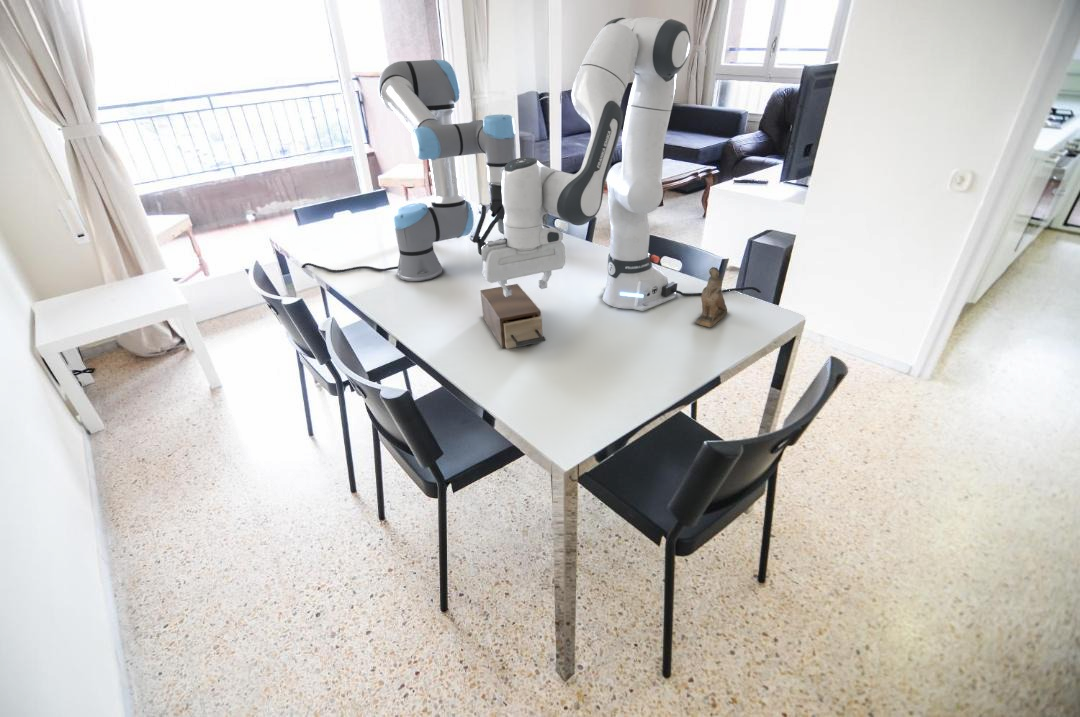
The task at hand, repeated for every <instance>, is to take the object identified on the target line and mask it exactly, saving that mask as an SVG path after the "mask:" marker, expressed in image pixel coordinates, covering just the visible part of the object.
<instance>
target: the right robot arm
mask: <svg viewBox="0 0 1080 717" xmlns="http://www.w3.org/2000/svg"><path fill="white" fill-rule="evenodd" d="M691 41H692V40H691V34H690V32H689V29H688V27H687V24H685V23H683V22H681V21H679V20H676V19H672V18H669V19H665V18H661V17H653V16H643V17H630V18H626V17H617V18H615V19H611V20H609V21H608V22H606V23H605V24H604V26H603V27H602V28H601V29H600V31H599V32H598V34H597V35H596V37H595V38H594V40H593V41H592V43H591V45H590V47H589V48H588V49H587V52H586V54H585V56H584V57H583V60H582V61H581V62H582V63H581V65H580V66H579V68H578V71H577V73H576V76H575V79H574V80H573V83H572V87H571V94H570V98H571V102H572V105H573V108H574V110H575V112H576V113H577V115H578V116H579V117H580V118H581V119H582V120H584V121H585V122H586V123H587V124H588V125H589V126H590V137H589V140H588V144H587V147H586V151H585V154H584V157H583V160H582V164H581V167H580V169H579V170H578V171H577V172H576V173H570V172H564V171H562V170H558V169H555V168H551V167H550V166H549V167H548V166H547V165H545V164H543V163H541V162H540V161H539V160H538V159H537V158H536V157H532V156H525V157H517V158H516V159H514V160H512V161H510V162H509V163H507V164H506V165H505V167H504V170H503V175H502V204H503V207H504V211H505V216H504V221H503V223H504V235H503V238H500V239H496V240H488V241H486V242H485V243H486V244H485V245H484V246H483V247H482V249H481V254H482V255H481V260H482V259H483V261H482V266H481V268H482V277H483V278H484V280H486V281H487V282H489V283H491V284H493V283H498V284H499V285H500V287H502V288H503V294H504V296H505V297H508V296H512V293H511V292H512V289H511V288H509V287H506V286H507V284H508V280H512V279H517V278H522V277H527V276H531V275H532V276H533V275H538V274H541V273H542V274H543V275H542V278H541V279H539V280H538V288H539V289H541V290H545V289H547V288H548V282H549V280H550V278H551V276H552V271H556V270H561V269H563V268H564V266H565V265H566V247H565V244H564V242H563V241H562V240H563V239H564V234H563V232H562V231H561V230H560V229H558V228H556V227H554V226H552V225H549V224H547V225H544V224H543V219H542V217H543V215H545V214H547V215H550V216H552V217H556V218H559V219H562V220H563V221H565V222H567V223H570V224H571V225H573V226H583V225H586V224H587V223H590V222H591V221H592V220H593V219H594V218H595V217H596V216H597V215H598V213H599V211H600V209H601V206H602V203H603V197H604V191H605V190H604V189H605V183H606V186H607V200H608V213H609V223H610V224H609V225H610V236H609V237H610V240H609V253H608V254H607V255H608V257H607V280H606V285H605V289H604V291H603V292H604V293H603V294H602V301H603V302H604V303H605V304H606V305H608V306H611V307H613V308H619V309H624V310H625V309H626V310H636V311H641V312H644V311H647V310H650V309H652V308H654V307H656V306H659V305H661V304H663V303H666V302H668V301H671V300H673V299H675V298H676V294H679V295H680V296H684V297H699V296H702V292H697V293H696V292H695V293H693V292H690V293H689V292H682V291H680V290H678V282H675V281H670V282H669V279H668V277H667V275H665V273H663V271H661V270H660V269H658V268H657V267H655V266H654V265H653V263H654V264H658V263H659V262H660V260H661V259H660V256H658V255H655V254H651V253H649V248H650V236H651V227H650V226H651V225H650V223H649V217H648V216H649V214H650V213H652V212H654V211H655V210H657V208H658V207H659V206H660V205H661V203H662V200H663V197H664V189H663V183H662V182H663V163H664V161H663V160H664V147H665V141H666V136H667V132H668V126H669V122H670V119H671V118H670V117H671V114H672V110H673V105H674V98H675V90H676V83H677V82H676V80H677V74H678V73H679V72H680V71H681V70H682V68H683V67H684V65H685V64H686V62H687V61H688V58H689V55H690V50H691ZM632 74H633V75H634V79H633V81H632V85H631V89H630V93H629V97H628V102H627V107H626V111H625V117H624V115H623V114H624V113H623V110H622V108H621V105H622V100H623V97H624V95H625V92H626V90H627V87H628V85H629V82H630V79H631V77H632ZM623 120H624V122H623ZM622 126H623V127H622ZM622 128H623V129H622ZM621 131H622V134H621ZM620 135H621V145H622V147H621V148H622V151H621V152H622V154H621V161H619V162H616V163H615V164H614V165H612V161H613V157H614V156H615V152H616V149H617V144H618V142H619V138H620ZM611 165H612V166H611ZM485 246H486V247H485ZM652 262H653V263H652ZM726 289H727V290H726ZM726 289H722V293H723V294H725V293H729V292H738V291H739V292H740V291H747V290H752V291H755V292H757V293H759V294H761V293H762V291H761V290H760V289H759V288H757V287H756V286H744V287H733V288H732V287H731V288H726ZM729 290H730V291H729Z"/></svg>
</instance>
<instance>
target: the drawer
mask: <svg viewBox="0 0 1080 717" xmlns="http://www.w3.org/2000/svg"><path fill="white" fill-rule="evenodd" d="M542 319H543V318H542V316H541V317H540V316H539V317H535V315H532V316H527V317H522V318H517V319H512V320H507V321H503V323H504V336H505V347H506V348H505V349H506V350H508V349H513V348H519V347H523V346H527V345H528V346H529V345H532V344H537V343H542V342H545V341H546V337H545V335H543V320H542Z"/></svg>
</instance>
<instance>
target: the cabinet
mask: <svg viewBox="0 0 1080 717" xmlns="http://www.w3.org/2000/svg"><path fill="white" fill-rule="evenodd" d="M505 286H506V287H509V288H511V289H512V292H511V293H512V296H508V297H505V296H504V294H503V288H502V287H501V286H497V287H491V288H485V289H481V290H479V291H480V300H481V309H482V318H483V321H485V323H486V325H487V327H488V328H489V330H490V331H491V333H492V334H493V336H494V337H495V340H496V341H497V342H498V344H499V346H500V347H501V349H507V348H506V347H505V336H504V323H503V321H507V320H512V319H517V318H522V317H527V316H532V315H535V317H539V316H540V317H541V318H542V311H541V309H540V308H539V307H538V306H537V305H536V303H534V301H533V300H532V299H531V298H530V297H529V295H528V294H527V293H526V292H525V291H524V289H523V288H522V287H521V286H520V285H519V283H514V284H508V285H505Z"/></svg>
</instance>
